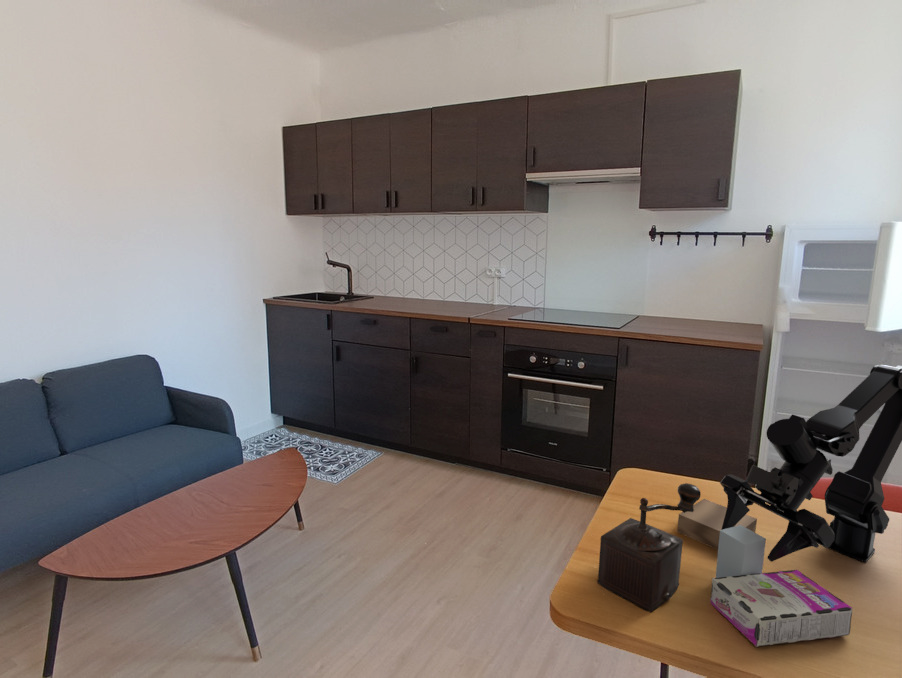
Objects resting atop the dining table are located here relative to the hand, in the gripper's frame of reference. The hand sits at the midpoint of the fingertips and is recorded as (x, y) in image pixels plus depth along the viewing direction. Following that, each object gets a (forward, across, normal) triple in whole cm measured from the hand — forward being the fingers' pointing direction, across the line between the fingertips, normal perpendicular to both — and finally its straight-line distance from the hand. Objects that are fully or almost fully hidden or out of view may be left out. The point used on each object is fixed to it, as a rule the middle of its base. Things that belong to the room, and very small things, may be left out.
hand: (745, 545), depth 94 cm
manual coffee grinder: (+16, -7, -4) cm, 18 cm away
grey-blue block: (+6, 0, +5) cm, 8 cm away
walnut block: (-2, -14, +13) cm, 19 cm away
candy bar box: (-1, +10, +8) cm, 13 cm away
